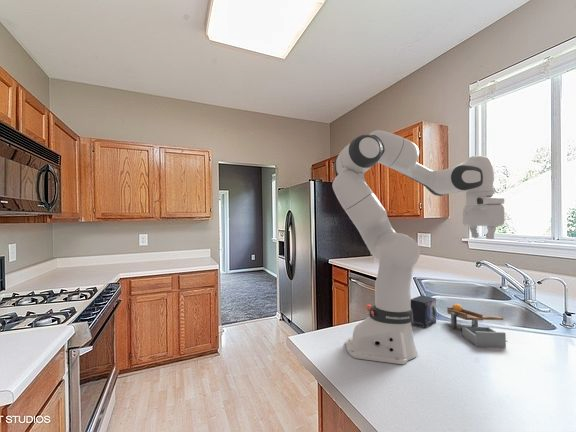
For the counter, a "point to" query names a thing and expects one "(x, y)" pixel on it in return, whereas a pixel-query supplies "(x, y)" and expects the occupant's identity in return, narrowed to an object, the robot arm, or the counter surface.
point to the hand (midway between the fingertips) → (482, 238)
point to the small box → (423, 311)
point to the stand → (459, 327)
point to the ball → (457, 307)
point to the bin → (484, 337)
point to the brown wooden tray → (472, 315)
